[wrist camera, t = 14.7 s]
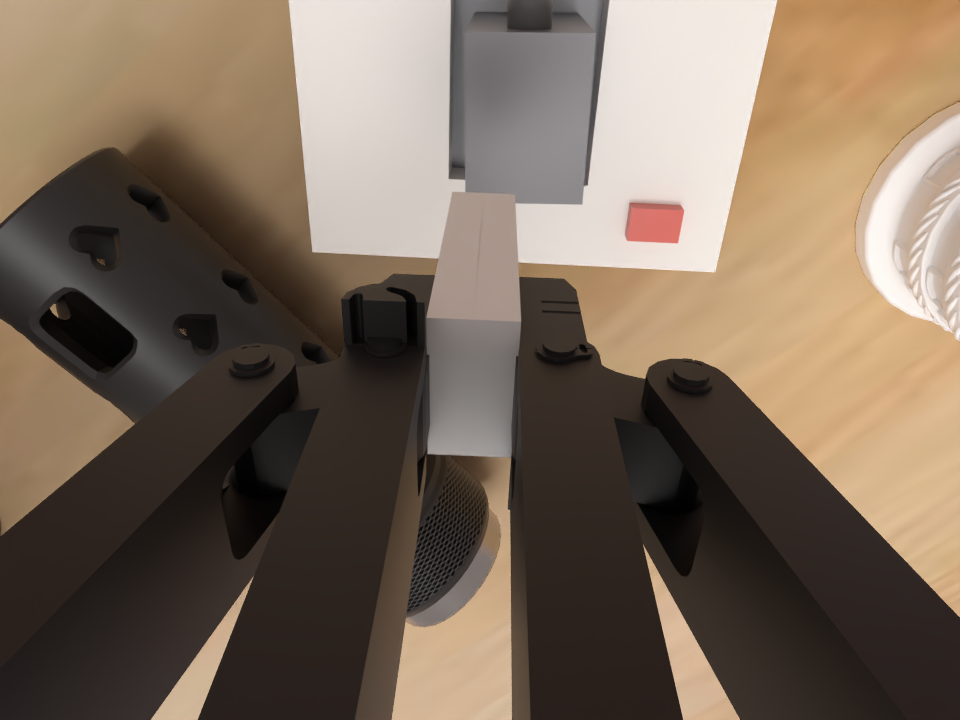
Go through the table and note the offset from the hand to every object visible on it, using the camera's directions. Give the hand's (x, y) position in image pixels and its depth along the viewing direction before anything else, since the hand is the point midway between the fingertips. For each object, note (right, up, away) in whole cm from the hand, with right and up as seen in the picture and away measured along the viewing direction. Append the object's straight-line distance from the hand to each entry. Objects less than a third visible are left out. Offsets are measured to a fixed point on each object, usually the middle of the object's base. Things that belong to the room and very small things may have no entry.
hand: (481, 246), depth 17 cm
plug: (+2, +11, +14) cm, 18 cm away
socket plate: (+2, +10, +15) cm, 19 cm away
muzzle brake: (-11, -3, +24) cm, 27 cm away
